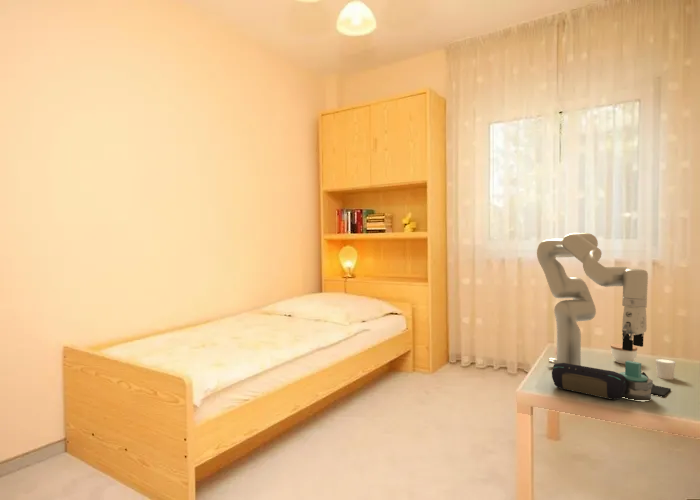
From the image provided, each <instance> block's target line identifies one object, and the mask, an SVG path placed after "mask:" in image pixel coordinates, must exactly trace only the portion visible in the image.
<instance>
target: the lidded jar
mask: <svg viewBox="0 0 700 500" xmlns="http://www.w3.org/2000/svg"><path fill="white" fill-rule="evenodd" d="M622 345H623V343H612V344H610V352H611V356H612V358H613V359H614V360H615V362H616V363H618V364H623V365H625V362H626V361H633V362H635V360H636V358H637V354H638V346H635V345H633V351H627V350H623V349H622Z"/></svg>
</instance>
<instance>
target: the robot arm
mask: <svg viewBox="0 0 700 500" xmlns="http://www.w3.org/2000/svg"><path fill="white" fill-rule="evenodd" d="M598 246H599V242H598V239H597V237H596V236H595V235H594V234H592V233H589V232H581V233H580V232H572V233H569V234H566V235H565V236H564V237H563V238H551V239H545V240H542V241H541V242H540V243H539V244H538V246H537V249H536V257H537V261H538V264H539V265H540V267H541V268H542V271H543V273H544V276H545V279H546V282H547V283H548V284H547V285H548V288H549V289H550V292H551V295H552V296H553V297H554V298H555V299H562V301H561V300H560V301H559V302H557V303H556V304H555V306H554V311H553V312H554V317H555V322H556V323H555V324H556V358H553V357H549V358H548V363H549V364H552V365H554V364H557V363H567V364H573V365H579V366H582V363H581V362H582V356H581V355H582V346H581V345H582V334H581V333H582V331H581V329H580V327H579V324H578V323H577V322H588V321H591V320H593V319H594V318H595V317H596V314H597V309H596V305H595V303H594V300H593V296H592V295H591V292H590V290H589V287H588V284H587V283H586V282H585V281H584V280H583V279H582V278H580V277H575V276H574V277H573V276H572V277H570V276H568V275H567V273H566V270H565V267H564V266H563V264H562V263H561V262H560V261H558V260H557V258H576V259H577V260H578V261H579V262H581V263H582V267H583V268H582V269H583V272H584V274H585V275H586V276H587V277H588V278H589V279H591V280H592V282H594V283H595V284H596V285H599V286H601V287H603V288H604V287H606V288H607V287H622V306H623V315H622V327H621V328H622V329H621V332H622V334H621V335H622V344H623V345H622V349H623V350H627V351H633V346H636V347H641V348H642V347H644V335H645V333H646V332H647V328H648V327H647V326H648V325H647V307H648V282H649V281H648V279H649V275H648V271H647V270H646V269H640V268H631V267H627V266H604V265H602V263H600V262H599V261H600V259H601V258H602V254H603V253H602V250H601V249H600V248H599V247H598ZM564 299H565V300H564Z"/></svg>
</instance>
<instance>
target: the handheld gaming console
mask: <svg viewBox="0 0 700 500" xmlns="http://www.w3.org/2000/svg"><path fill="white" fill-rule="evenodd" d="M641 374H642V375H645V376H647V377H648V378H649V376H648V375H647V374H646V372H644V371H643V372H641ZM669 393H671V388H669V387H665V386H661V385H660V386H659V385H655V384H654V383H653V388H651V394H653V395H652V396H655V395H658V396H657V397H660V396H662V397H661V398H665V397H666V396H667V395H668V394H669Z"/></svg>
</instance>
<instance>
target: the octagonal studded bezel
mask: <svg viewBox="0 0 700 500" xmlns="http://www.w3.org/2000/svg"><path fill="white" fill-rule="evenodd" d="M653 381H654V380H653V379H651V378H649V377H648V380H647V381H645V382H636V381H630V380H626V384H627V386H626V392H625V393H624V395H623V396H622V397H625V398H628V399H634V400H650V399H651V400H652V395H651V388H653V384H654V383H653Z"/></svg>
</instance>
